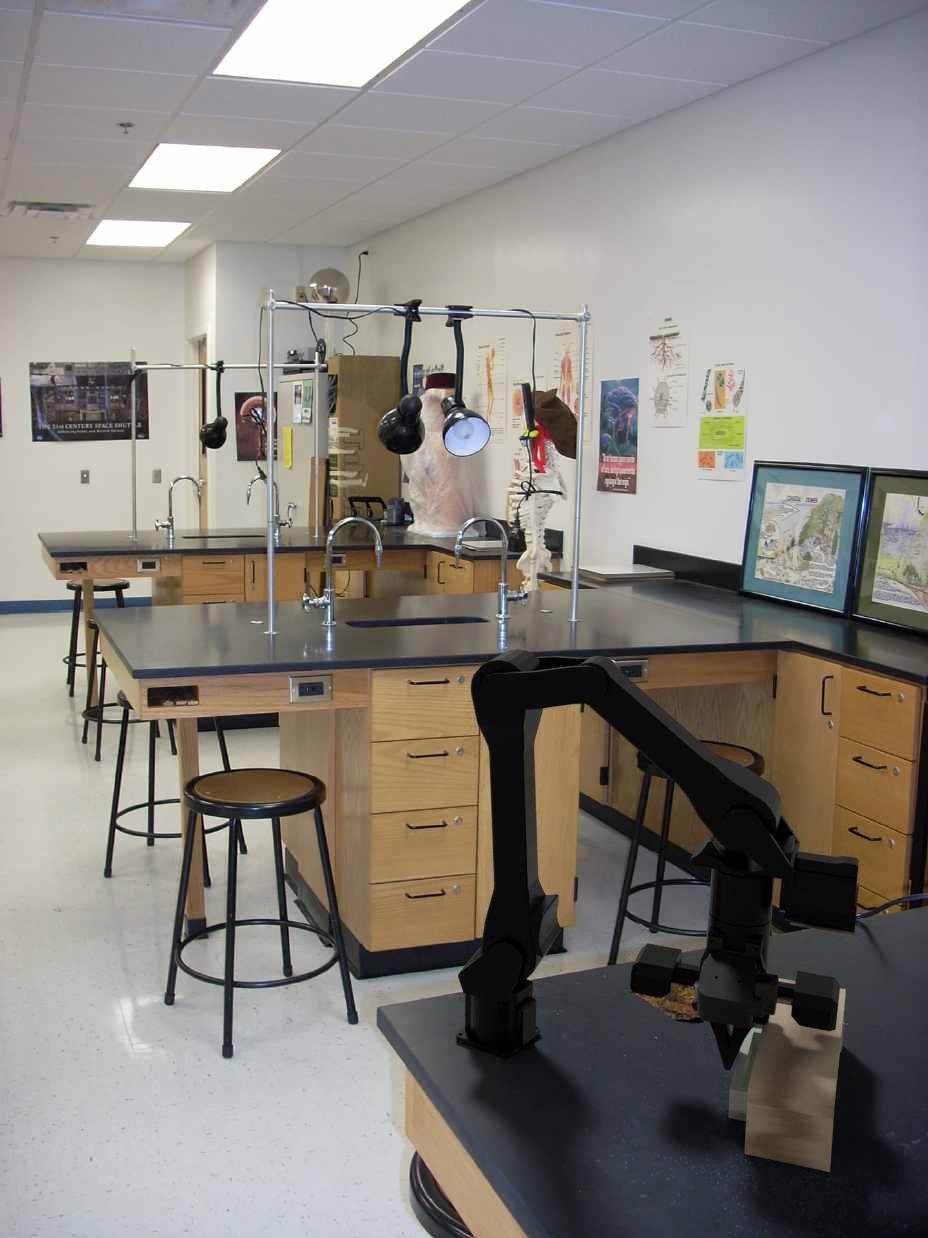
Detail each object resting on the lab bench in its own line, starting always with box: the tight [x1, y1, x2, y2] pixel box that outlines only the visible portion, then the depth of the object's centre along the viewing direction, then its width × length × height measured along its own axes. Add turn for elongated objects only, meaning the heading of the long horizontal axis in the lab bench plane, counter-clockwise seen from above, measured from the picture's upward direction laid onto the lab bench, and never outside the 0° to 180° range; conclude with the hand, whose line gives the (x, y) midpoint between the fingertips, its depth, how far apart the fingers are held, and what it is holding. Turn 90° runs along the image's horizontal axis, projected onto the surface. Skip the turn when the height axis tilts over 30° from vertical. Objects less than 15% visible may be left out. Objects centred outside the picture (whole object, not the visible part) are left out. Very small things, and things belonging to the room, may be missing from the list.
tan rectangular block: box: [744, 977, 847, 1173], centre depth 110 cm, size 7×22×6 cm, turn 160°
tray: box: [727, 1027, 762, 1122], centre depth 111 cm, size 6×12×3 cm, turn 160°
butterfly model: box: [628, 983, 702, 1022], centre depth 128 cm, size 9×12×3 cm
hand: (728, 1068), depth 112 cm, fingers closed
